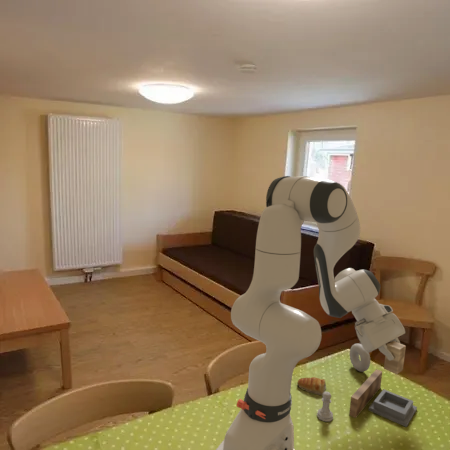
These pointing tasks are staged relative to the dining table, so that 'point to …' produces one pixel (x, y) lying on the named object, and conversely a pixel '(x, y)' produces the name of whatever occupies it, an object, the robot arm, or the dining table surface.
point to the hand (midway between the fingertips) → (397, 356)
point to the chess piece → (325, 408)
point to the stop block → (399, 353)
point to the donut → (364, 356)
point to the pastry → (312, 385)
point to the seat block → (393, 407)
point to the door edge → (365, 393)
